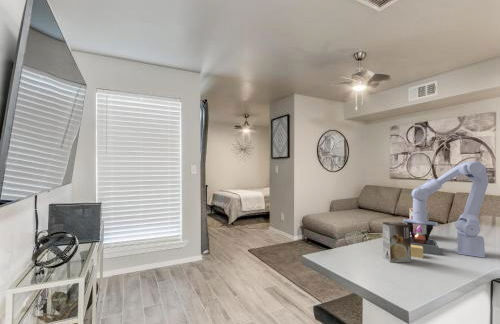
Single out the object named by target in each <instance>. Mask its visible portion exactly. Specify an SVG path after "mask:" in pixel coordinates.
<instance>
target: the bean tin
mask: <svg viewBox="0 0 500 324" xmlns="http://www.w3.org/2000/svg"><path fill="white" fill-rule="evenodd" d="M413 236H414V242H415V243H418V244H427V242H426V234H425V233H421V232H414V233H413Z"/></svg>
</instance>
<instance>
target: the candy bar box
mask: <svg viewBox="0 0 500 324" xmlns="http://www.w3.org/2000/svg"><path fill="white" fill-rule="evenodd" d="M408 214H409V219H413V207H409V208H408ZM426 216H427V221H430V211H428V210H426ZM414 232H421V233H425V234H426V225H418V224H413V233H414ZM410 236H412V235H411V232H410ZM428 239H430V237H429V238H428Z"/></svg>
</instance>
